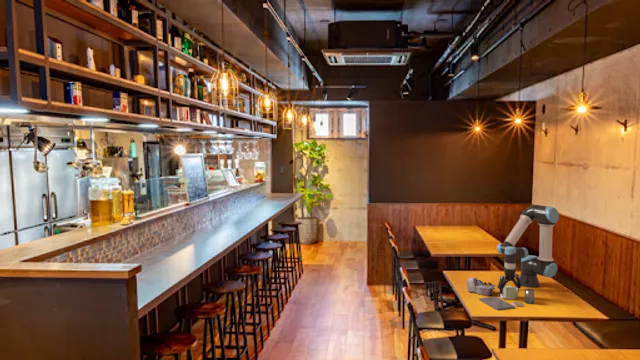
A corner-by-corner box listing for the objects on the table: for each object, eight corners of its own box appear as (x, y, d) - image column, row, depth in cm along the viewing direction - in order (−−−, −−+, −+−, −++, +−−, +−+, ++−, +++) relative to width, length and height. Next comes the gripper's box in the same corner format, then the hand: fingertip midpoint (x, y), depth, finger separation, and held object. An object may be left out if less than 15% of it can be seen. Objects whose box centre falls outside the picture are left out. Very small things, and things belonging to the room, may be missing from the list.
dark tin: (529, 300, 296) (530, 288, 296) (536, 303, 291) (536, 291, 290) (522, 301, 295) (523, 289, 294) (528, 304, 289) (529, 292, 289)
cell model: (468, 274, 324) (496, 278, 314) (468, 288, 325) (495, 292, 315) (465, 279, 312) (494, 283, 303) (465, 293, 313) (493, 298, 304)
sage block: (509, 296, 306) (510, 285, 306) (515, 298, 301) (515, 288, 300) (502, 296, 305) (503, 286, 304) (508, 299, 299) (508, 288, 298)
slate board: (495, 298, 302) (495, 296, 302) (514, 308, 283) (514, 306, 283) (478, 300, 299) (478, 298, 299) (497, 310, 279) (497, 308, 279)
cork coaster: (517, 302, 294) (517, 301, 294) (526, 306, 286) (526, 305, 286) (508, 303, 292) (508, 302, 292) (516, 307, 284) (516, 306, 284)
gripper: (520, 265, 308) (519, 293, 309) (492, 267, 302) (491, 297, 303) (527, 268, 300) (526, 297, 302) (499, 270, 294) (498, 300, 296)
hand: (509, 297), depth 303 cm, fingers open, 12 cm apart
